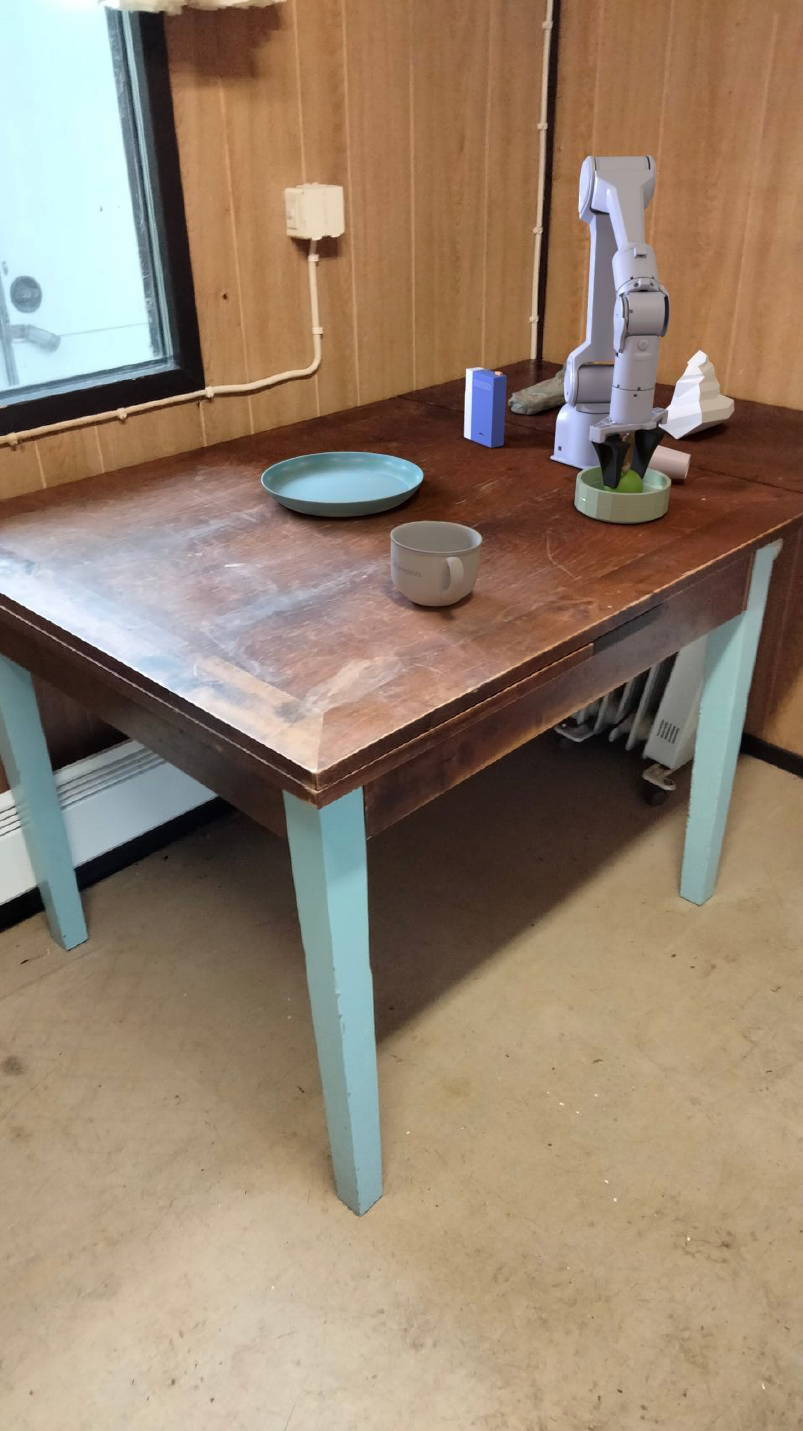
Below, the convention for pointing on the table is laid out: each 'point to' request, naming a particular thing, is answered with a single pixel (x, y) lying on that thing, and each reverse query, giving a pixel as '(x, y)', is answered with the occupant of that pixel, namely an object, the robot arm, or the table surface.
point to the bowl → (622, 498)
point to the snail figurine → (628, 472)
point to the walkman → (485, 406)
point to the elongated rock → (541, 395)
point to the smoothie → (670, 462)
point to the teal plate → (342, 483)
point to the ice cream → (697, 400)
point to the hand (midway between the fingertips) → (623, 482)
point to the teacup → (434, 561)
